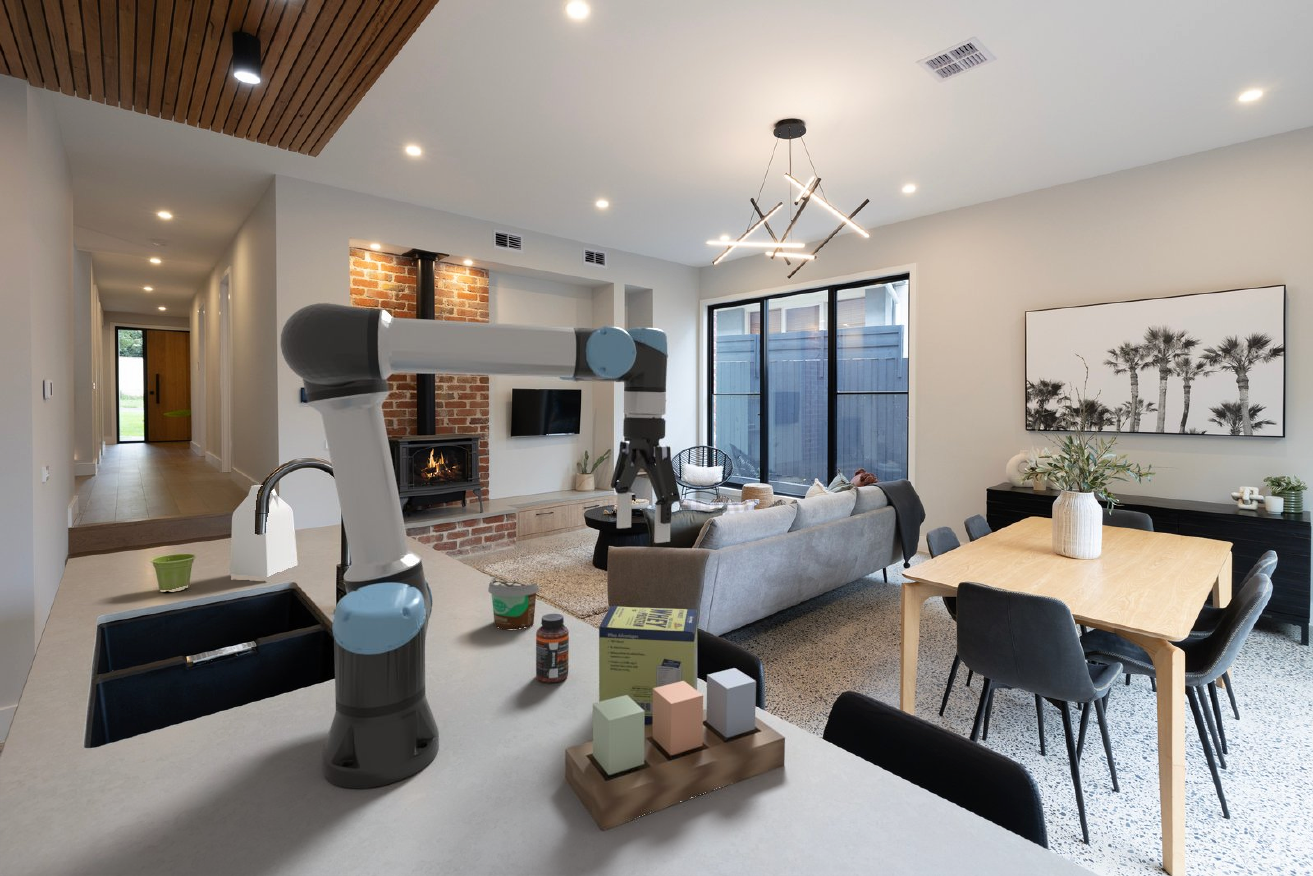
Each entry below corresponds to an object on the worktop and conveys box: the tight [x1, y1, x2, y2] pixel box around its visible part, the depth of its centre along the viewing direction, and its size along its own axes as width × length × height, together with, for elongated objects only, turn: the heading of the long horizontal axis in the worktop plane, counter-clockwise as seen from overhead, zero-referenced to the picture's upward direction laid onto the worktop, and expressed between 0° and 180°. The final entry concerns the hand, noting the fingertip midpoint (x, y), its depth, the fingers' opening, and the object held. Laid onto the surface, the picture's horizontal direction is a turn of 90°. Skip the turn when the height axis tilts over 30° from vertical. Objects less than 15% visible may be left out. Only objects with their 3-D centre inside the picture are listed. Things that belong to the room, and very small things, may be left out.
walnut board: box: [564, 708, 786, 832], centre depth 85 cm, size 28×12×4 cm, turn 119°
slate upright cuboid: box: [706, 667, 757, 738], centre depth 89 cm, size 5×5×7 cm
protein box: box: [598, 605, 698, 726], centre depth 102 cm, size 10×16×16 cm
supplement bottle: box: [535, 613, 570, 684], centre depth 114 cm, size 6×6×11 cm
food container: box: [487, 576, 540, 630], centre depth 139 cm, size 12×6×10 cm, turn 68°
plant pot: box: [150, 553, 197, 591], centre depth 164 cm, size 9×9×9 cm
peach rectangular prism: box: [652, 681, 704, 755], centre depth 85 cm, size 5×5×7 cm
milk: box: [229, 484, 299, 577], centre depth 178 cm, size 12×12×26 cm
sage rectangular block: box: [592, 695, 645, 775], centre depth 80 cm, size 5×5×7 cm
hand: (642, 534), depth 112 cm, fingers open, 13 cm apart
